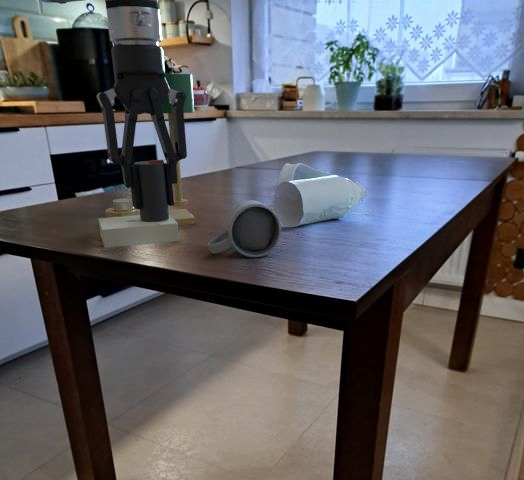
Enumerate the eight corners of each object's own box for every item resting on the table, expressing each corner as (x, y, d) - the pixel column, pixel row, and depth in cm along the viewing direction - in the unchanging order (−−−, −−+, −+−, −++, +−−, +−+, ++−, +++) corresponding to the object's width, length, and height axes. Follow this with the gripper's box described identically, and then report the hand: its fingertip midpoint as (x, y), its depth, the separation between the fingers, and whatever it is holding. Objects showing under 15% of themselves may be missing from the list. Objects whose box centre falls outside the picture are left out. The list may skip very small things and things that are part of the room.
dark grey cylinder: (144, 223, 84) (137, 163, 80) (137, 217, 88) (130, 160, 84) (172, 220, 86) (167, 161, 82) (164, 214, 90) (159, 158, 86)
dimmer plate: (104, 248, 82) (101, 228, 81) (100, 235, 90) (97, 217, 88) (188, 240, 86) (186, 221, 85) (177, 228, 94) (176, 211, 92)
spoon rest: (291, 183, 141) (291, 155, 137) (333, 185, 137) (334, 156, 134) (261, 198, 121) (260, 165, 117) (309, 200, 117) (310, 167, 114)
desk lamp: (162, 209, 94) (148, 73, 85) (155, 202, 101) (142, 75, 91) (204, 206, 97) (196, 73, 87) (195, 199, 104) (186, 75, 94)
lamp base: (109, 231, 92) (107, 214, 91) (105, 221, 100) (103, 205, 99) (195, 224, 97) (194, 207, 96) (185, 214, 105) (184, 199, 103)
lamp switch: (114, 214, 94) (113, 202, 93) (113, 210, 97) (111, 199, 96) (135, 212, 95) (133, 201, 94) (132, 209, 98) (131, 197, 97)
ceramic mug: (272, 242, 84) (271, 193, 80) (282, 256, 77) (281, 203, 73) (206, 247, 82) (203, 197, 79) (210, 261, 75) (206, 207, 72)
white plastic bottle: (373, 217, 101) (376, 174, 97) (300, 231, 91) (302, 184, 87) (343, 210, 107) (346, 170, 103) (272, 223, 96) (272, 179, 93)
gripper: (77, 40, 70) (103, 215, 80) (202, 44, 77) (211, 204, 87) (70, 45, 76) (94, 207, 86) (186, 48, 83) (196, 197, 93)
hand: (153, 205), depth 86 cm, fingers closed on dark grey cylinder, 5 cm apart
